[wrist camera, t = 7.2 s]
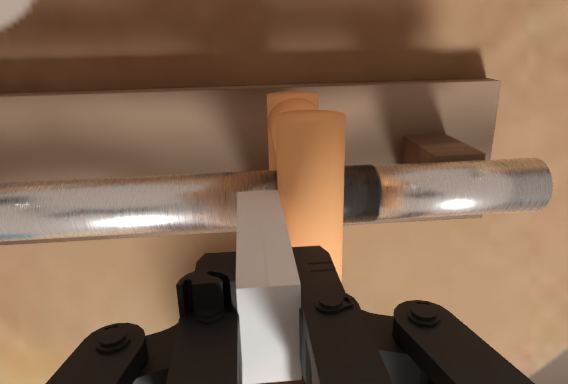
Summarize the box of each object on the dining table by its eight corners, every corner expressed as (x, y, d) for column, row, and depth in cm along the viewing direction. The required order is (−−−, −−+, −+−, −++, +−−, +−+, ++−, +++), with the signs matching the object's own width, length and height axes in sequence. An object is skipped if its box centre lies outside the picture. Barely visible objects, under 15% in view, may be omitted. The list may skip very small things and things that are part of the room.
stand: (-112, 96, 23) (-222, 116, 17) (486, 78, 25) (554, 90, 20) (-67, 237, 26) (-150, 293, 20) (469, 208, 28) (525, 250, 23)
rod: (-146, 236, 19) (-200, 264, 17) (-167, 181, 18) (-227, 203, 16) (514, 200, 22) (547, 220, 19) (522, 150, 21) (558, 165, 18)
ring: (265, 92, 22) (278, 123, 14) (314, 90, 22) (353, 120, 14) (270, 241, 24) (284, 334, 17) (314, 238, 24) (346, 329, 17)
